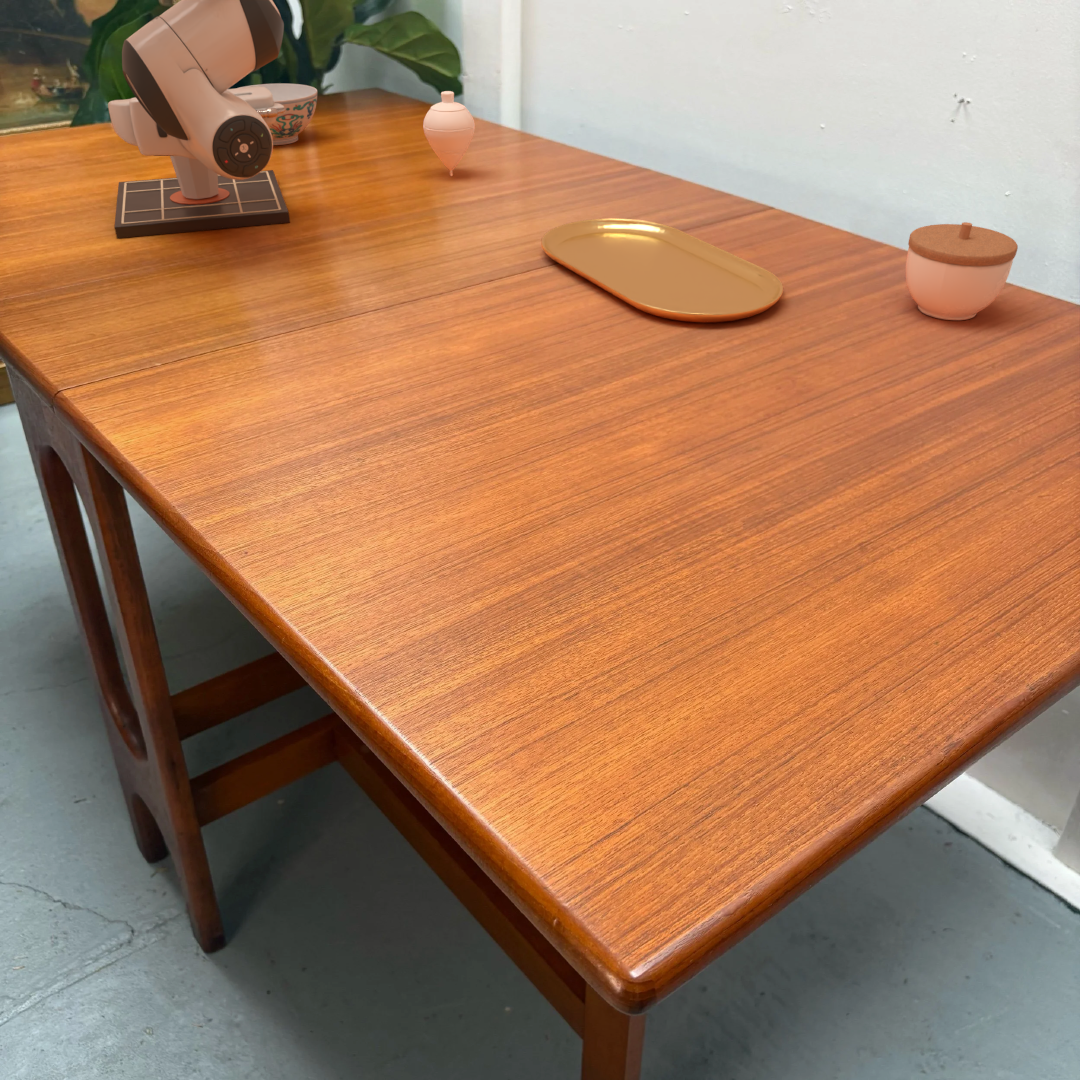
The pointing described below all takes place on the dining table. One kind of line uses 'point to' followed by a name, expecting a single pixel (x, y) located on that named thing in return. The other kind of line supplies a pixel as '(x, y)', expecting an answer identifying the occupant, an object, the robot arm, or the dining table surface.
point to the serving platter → (663, 269)
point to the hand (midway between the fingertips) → (181, 100)
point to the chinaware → (291, 110)
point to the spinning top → (449, 130)
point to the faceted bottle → (195, 178)
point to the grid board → (197, 206)
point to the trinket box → (957, 268)
